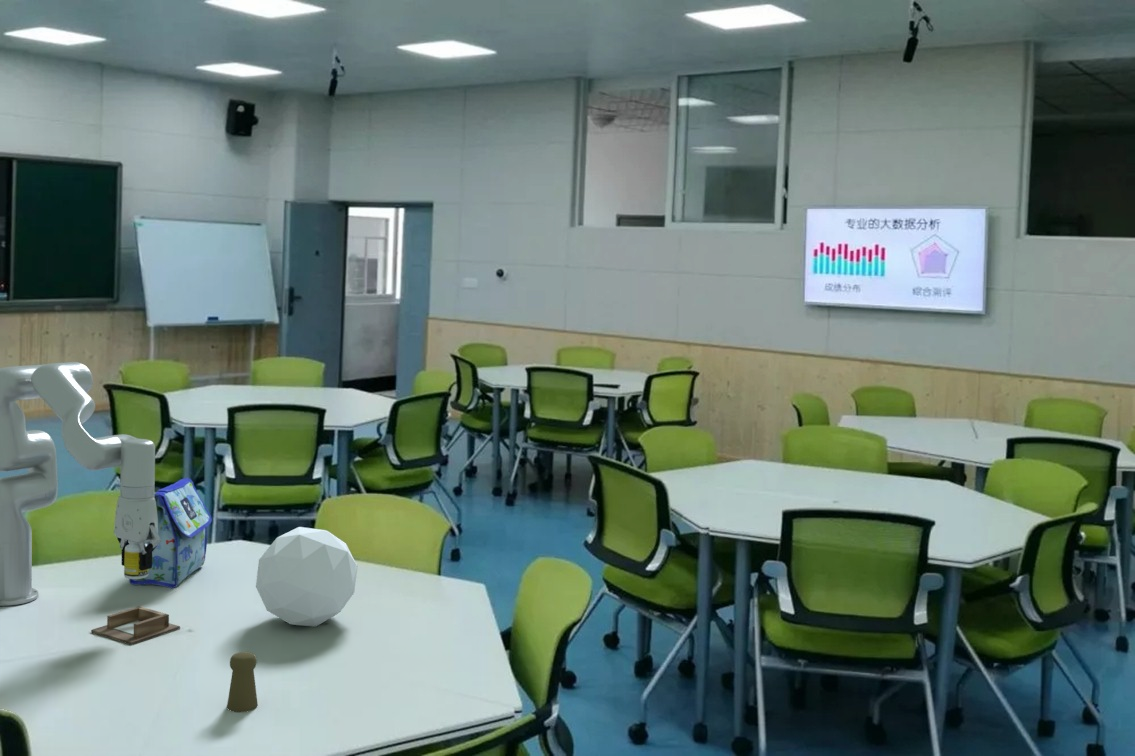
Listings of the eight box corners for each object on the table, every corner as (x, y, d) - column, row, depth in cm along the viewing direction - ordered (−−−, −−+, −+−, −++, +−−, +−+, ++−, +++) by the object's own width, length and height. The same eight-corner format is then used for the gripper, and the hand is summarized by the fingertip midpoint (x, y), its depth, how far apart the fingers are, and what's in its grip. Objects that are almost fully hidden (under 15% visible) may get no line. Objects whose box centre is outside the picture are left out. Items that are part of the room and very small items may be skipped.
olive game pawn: (230, 700, 225) (231, 648, 224) (260, 700, 225) (261, 648, 224) (223, 712, 219) (224, 658, 218) (254, 712, 219) (255, 659, 218)
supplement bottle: (140, 580, 257) (140, 539, 256) (119, 578, 258) (119, 537, 257) (153, 574, 262) (153, 534, 261) (133, 572, 264) (133, 532, 262)
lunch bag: (186, 589, 295) (188, 494, 292) (124, 586, 295) (125, 491, 292) (214, 566, 317) (215, 478, 314) (157, 563, 317) (158, 474, 314)
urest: (91, 632, 259) (91, 617, 259) (140, 617, 271) (140, 602, 271) (131, 644, 252) (131, 629, 252) (179, 628, 265) (180, 614, 264)
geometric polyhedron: (305, 645, 282) (335, 555, 294) (357, 637, 264) (387, 542, 277) (224, 611, 269) (259, 519, 282) (273, 600, 252) (309, 502, 264)
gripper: (99, 489, 259) (99, 563, 261) (149, 499, 251) (148, 577, 253) (126, 484, 266) (125, 557, 267) (175, 494, 257) (174, 569, 259)
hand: (136, 566), depth 260 cm, fingers closed on supplement bottle, 5 cm apart
